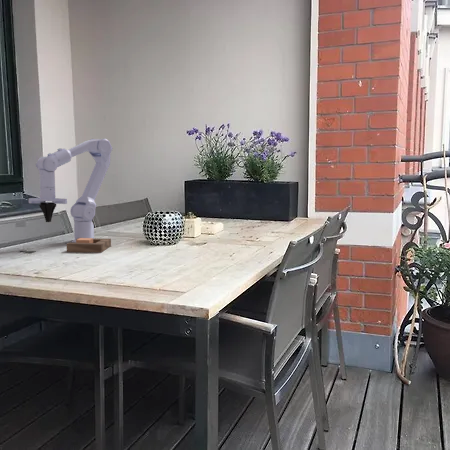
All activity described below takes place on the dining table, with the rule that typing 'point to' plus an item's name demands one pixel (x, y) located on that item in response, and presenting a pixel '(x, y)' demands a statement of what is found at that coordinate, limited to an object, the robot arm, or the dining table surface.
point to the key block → (84, 240)
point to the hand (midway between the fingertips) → (48, 221)
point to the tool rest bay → (90, 246)
